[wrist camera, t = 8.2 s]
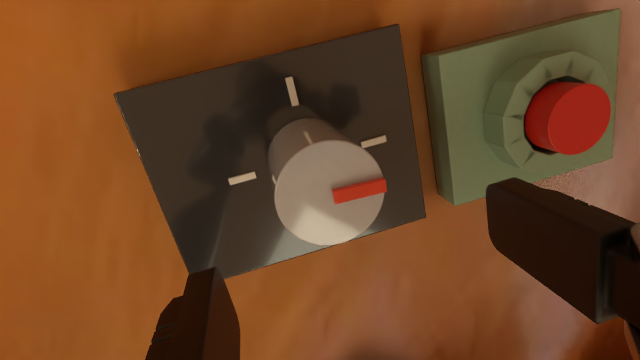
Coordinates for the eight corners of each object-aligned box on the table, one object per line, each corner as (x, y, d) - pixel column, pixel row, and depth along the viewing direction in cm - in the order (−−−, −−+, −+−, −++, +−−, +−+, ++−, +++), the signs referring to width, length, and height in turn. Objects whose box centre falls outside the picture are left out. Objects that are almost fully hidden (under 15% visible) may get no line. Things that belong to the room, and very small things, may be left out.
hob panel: (199, 265, 23) (194, 290, 20) (128, 89, 19) (110, 93, 17) (409, 202, 24) (428, 219, 22) (382, 26, 20) (400, 22, 18)
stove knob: (277, 206, 20) (288, 262, 14) (258, 127, 18) (263, 156, 13) (354, 187, 20) (393, 234, 15) (342, 109, 19) (380, 130, 13)
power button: (524, 154, 21) (548, 163, 19) (522, 90, 19) (547, 94, 18) (581, 138, 21) (609, 144, 19) (583, 74, 20) (613, 75, 18)
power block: (437, 194, 24) (471, 218, 21) (420, 55, 21) (456, 55, 18) (583, 150, 26) (641, 166, 22) (587, 12, 22) (655, 3, 19)
